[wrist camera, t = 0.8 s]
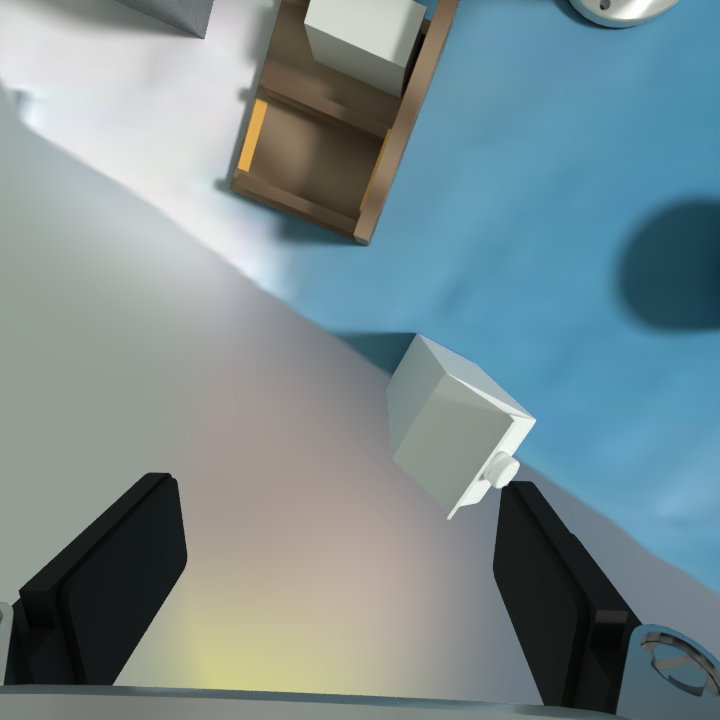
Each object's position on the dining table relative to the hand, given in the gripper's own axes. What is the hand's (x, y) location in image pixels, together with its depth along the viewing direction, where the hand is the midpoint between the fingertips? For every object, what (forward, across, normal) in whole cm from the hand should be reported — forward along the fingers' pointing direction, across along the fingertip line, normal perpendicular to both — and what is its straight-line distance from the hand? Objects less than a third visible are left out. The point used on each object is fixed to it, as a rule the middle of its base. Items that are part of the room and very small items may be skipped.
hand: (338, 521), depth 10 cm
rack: (+29, +3, -20) cm, 35 cm away
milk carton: (+29, -7, +4) cm, 30 cm away
